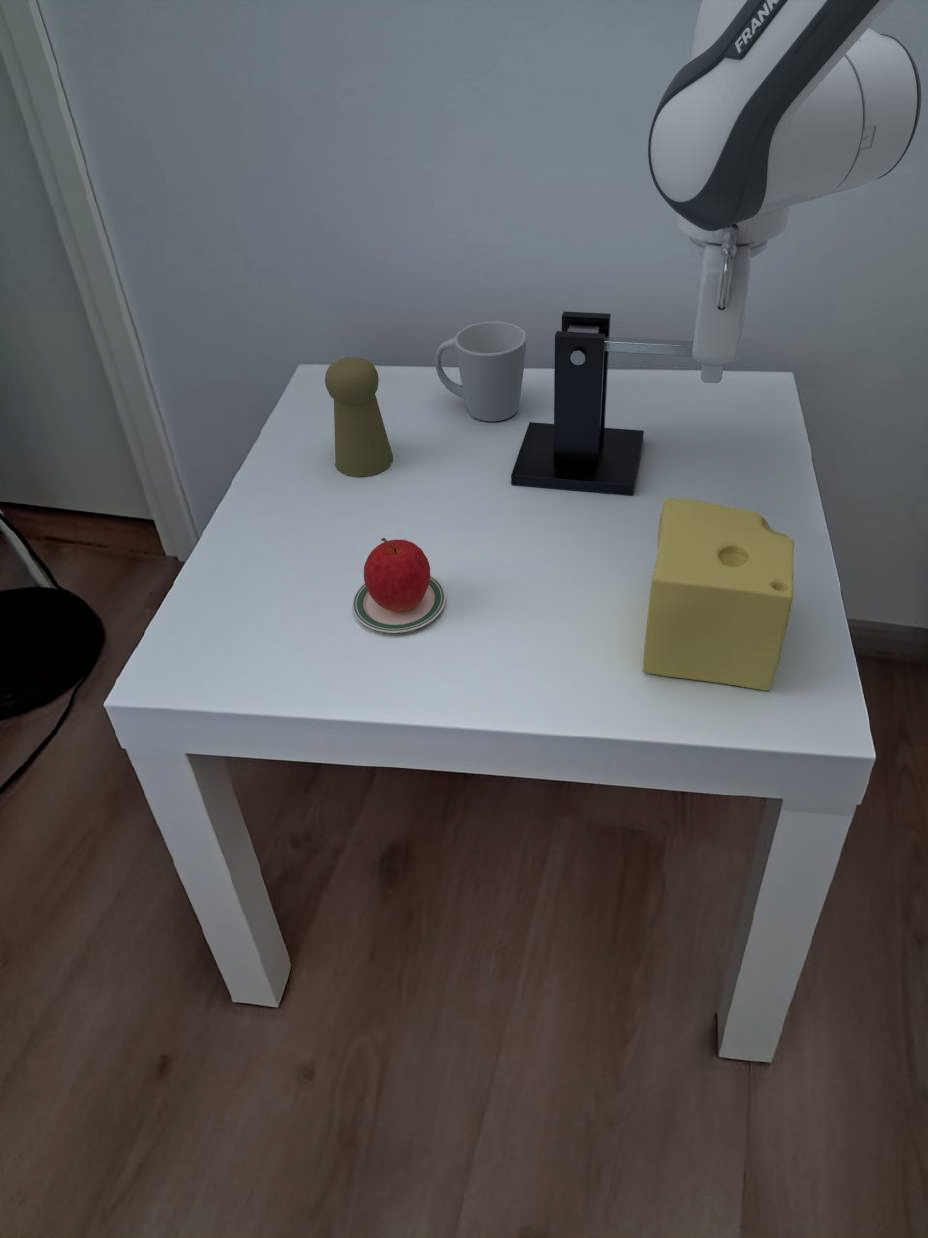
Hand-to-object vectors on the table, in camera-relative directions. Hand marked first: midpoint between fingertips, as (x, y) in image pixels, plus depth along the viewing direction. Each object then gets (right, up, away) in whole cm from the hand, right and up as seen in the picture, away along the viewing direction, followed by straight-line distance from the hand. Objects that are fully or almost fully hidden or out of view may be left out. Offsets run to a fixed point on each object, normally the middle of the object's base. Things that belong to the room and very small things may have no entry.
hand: (712, 361), depth 85 cm
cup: (-20, 0, +19) cm, 28 cm away
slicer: (-11, -7, +10) cm, 17 cm away
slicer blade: (-6, +1, +1) cm, 6 cm away
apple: (-28, -22, -4) cm, 36 cm away
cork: (-33, -7, +13) cm, 36 cm away
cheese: (-3, -25, -9) cm, 27 cm away
